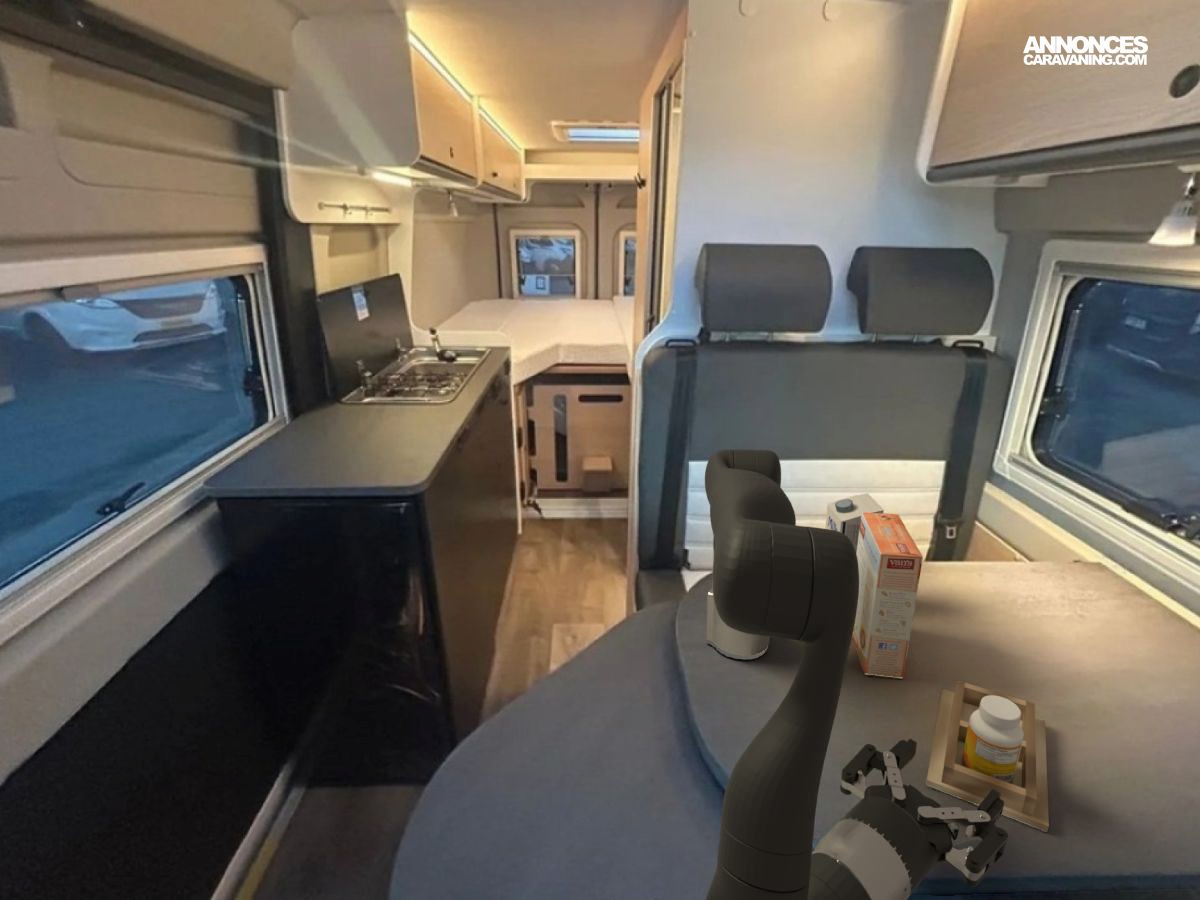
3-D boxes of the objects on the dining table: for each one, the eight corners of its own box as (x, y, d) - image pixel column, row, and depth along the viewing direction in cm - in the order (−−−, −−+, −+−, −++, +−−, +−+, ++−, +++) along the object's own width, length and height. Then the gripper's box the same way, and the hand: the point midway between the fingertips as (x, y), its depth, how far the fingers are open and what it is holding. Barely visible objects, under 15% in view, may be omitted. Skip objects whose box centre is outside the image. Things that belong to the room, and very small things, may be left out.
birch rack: (925, 786, 74) (929, 763, 73) (941, 694, 89) (945, 674, 87) (1047, 833, 68) (1053, 809, 67) (1043, 726, 82) (1048, 705, 81)
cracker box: (906, 681, 91) (925, 555, 84) (862, 677, 93) (878, 553, 86) (885, 625, 104) (900, 512, 97) (847, 621, 106) (859, 510, 99)
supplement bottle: (969, 747, 78) (981, 684, 75) (1018, 770, 75) (1034, 705, 72) (954, 772, 75) (967, 707, 72) (1006, 798, 71) (1021, 731, 68)
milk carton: (871, 614, 107) (884, 508, 101) (832, 615, 108) (842, 510, 101) (856, 591, 114) (867, 491, 107) (819, 592, 114) (828, 492, 108)
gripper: (955, 894, 50) (1035, 787, 60) (805, 781, 61) (892, 705, 70) (941, 955, 53) (1020, 844, 62) (800, 836, 64) (884, 756, 73)
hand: (952, 770), depth 66 cm, fingers open, 8 cm apart
